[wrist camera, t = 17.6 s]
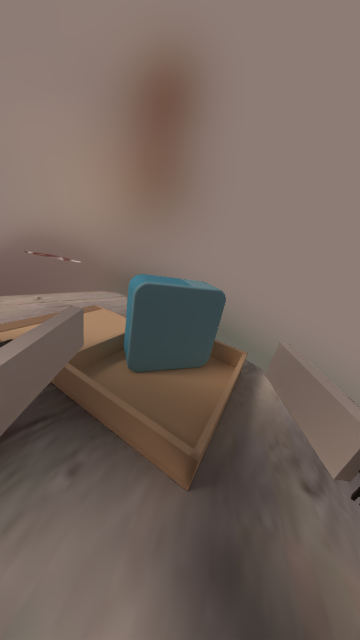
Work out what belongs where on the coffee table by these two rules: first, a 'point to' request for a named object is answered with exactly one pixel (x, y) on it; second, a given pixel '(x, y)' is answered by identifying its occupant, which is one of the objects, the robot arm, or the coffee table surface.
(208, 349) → the data package
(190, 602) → the coffee table surface
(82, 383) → the mailer box
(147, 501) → the coffee table surface
